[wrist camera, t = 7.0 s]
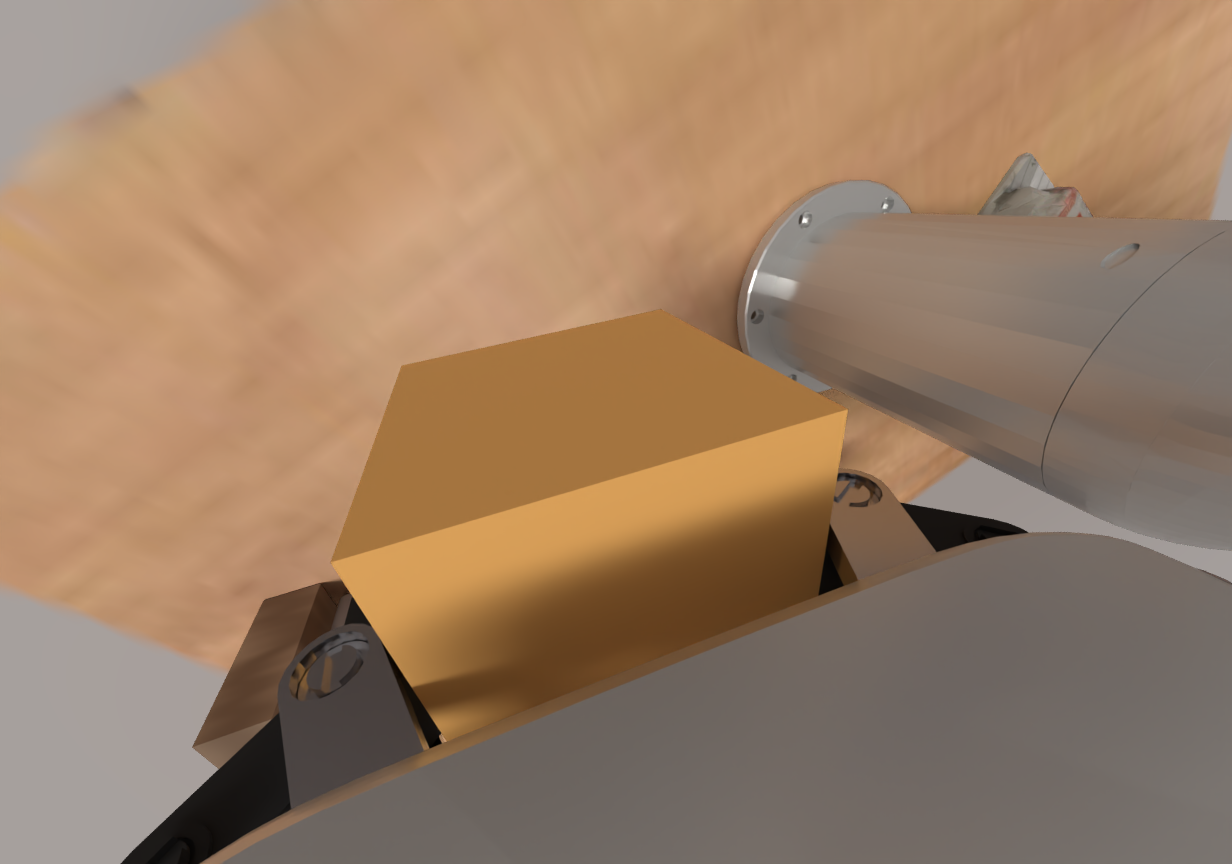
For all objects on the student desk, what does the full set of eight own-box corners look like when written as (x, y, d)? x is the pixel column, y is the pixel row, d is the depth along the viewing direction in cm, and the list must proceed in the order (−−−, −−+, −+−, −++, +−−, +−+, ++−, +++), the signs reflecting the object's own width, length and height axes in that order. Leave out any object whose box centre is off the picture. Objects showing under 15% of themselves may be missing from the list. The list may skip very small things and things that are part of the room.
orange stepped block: (401, 365, 9) (330, 562, 4) (661, 309, 10) (848, 409, 5) (522, 666, 15) (554, 908, 10) (683, 606, 16) (786, 793, 11)
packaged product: (981, 313, 26) (1105, 143, 24) (911, 299, 31) (1009, 153, 28) (1084, 405, 35) (1185, 287, 32) (1018, 384, 39) (1102, 278, 36)
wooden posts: (782, 443, 32) (868, 506, 26) (780, 475, 34) (860, 543, 27) (263, 600, 25) (192, 747, 18) (289, 632, 26) (232, 779, 20)
